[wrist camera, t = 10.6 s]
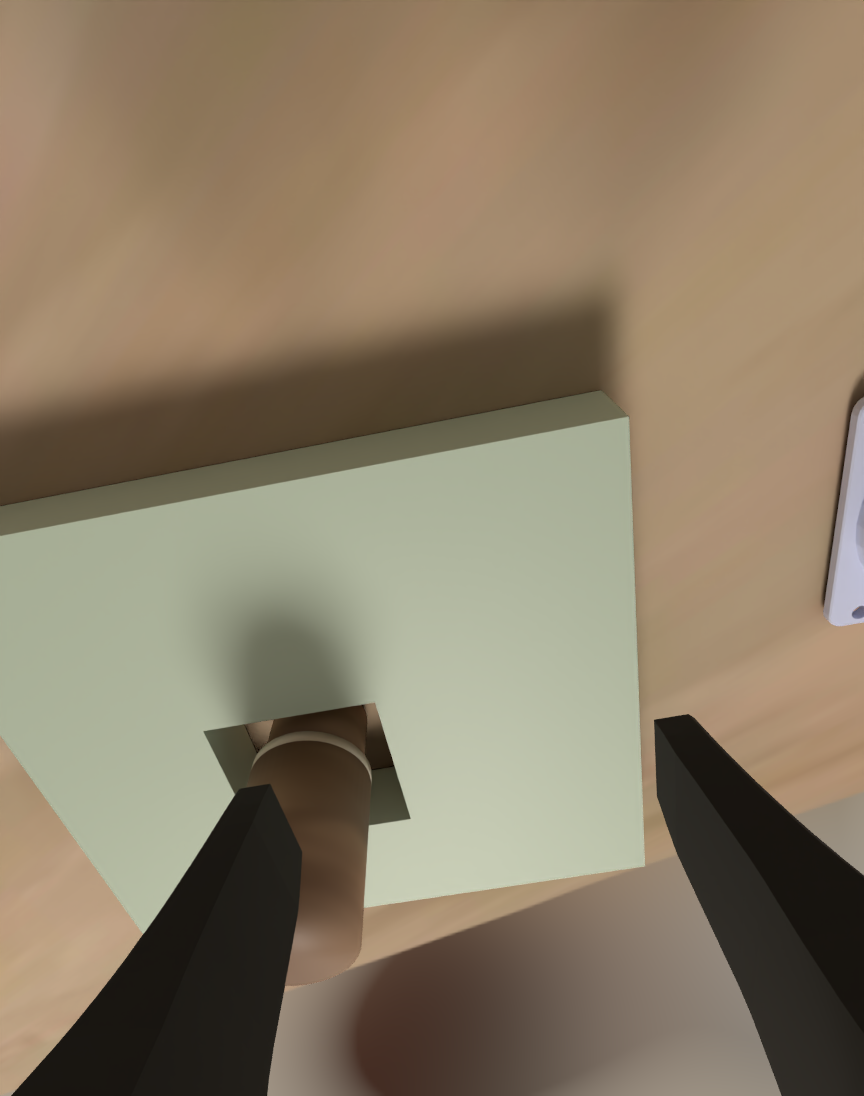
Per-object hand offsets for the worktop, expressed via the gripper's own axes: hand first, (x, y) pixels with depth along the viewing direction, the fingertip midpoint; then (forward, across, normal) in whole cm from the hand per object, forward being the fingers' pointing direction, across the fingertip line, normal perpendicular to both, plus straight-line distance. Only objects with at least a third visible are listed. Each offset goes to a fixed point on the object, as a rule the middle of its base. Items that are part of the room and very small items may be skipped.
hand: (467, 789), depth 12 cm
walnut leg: (+9, +6, +6) cm, 13 cm away
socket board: (+9, +5, +5) cm, 12 cm away
